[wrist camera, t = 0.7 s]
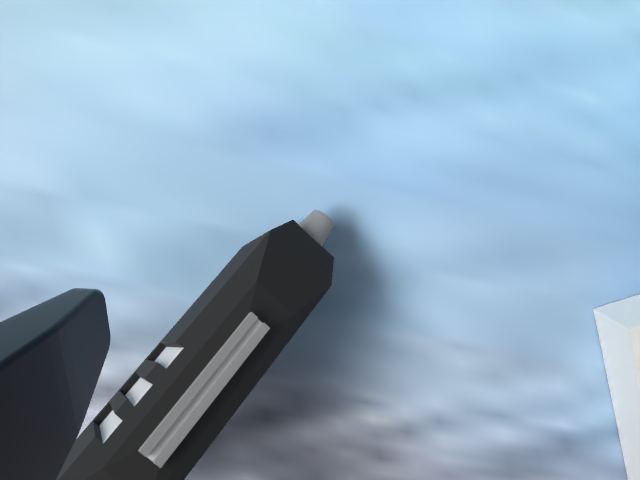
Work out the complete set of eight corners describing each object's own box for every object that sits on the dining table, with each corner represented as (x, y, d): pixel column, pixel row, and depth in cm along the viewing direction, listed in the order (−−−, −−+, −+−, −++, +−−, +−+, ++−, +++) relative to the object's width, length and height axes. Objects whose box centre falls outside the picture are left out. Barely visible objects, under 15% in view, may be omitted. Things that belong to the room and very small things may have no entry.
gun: (286, 267, 29) (382, 233, 20) (41, 571, 23) (13, 725, 13) (244, 229, 28) (322, 175, 19) (-19, 529, 22) (-89, 661, 13)
